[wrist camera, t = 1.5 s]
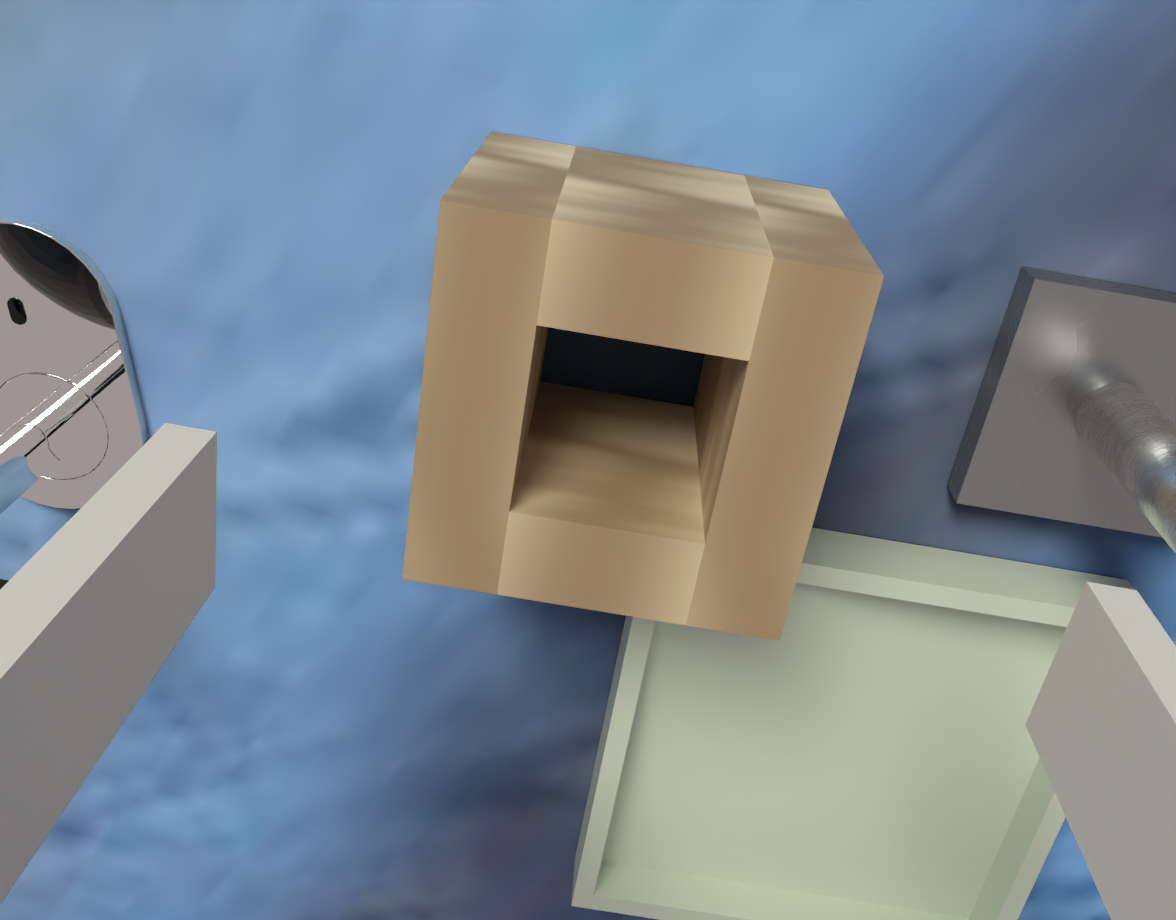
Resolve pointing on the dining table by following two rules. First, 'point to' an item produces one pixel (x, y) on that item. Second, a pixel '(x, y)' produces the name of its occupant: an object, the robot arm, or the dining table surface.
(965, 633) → the tray
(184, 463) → the robot arm
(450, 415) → the bored block
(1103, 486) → the gauge post
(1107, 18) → the dining table surface
